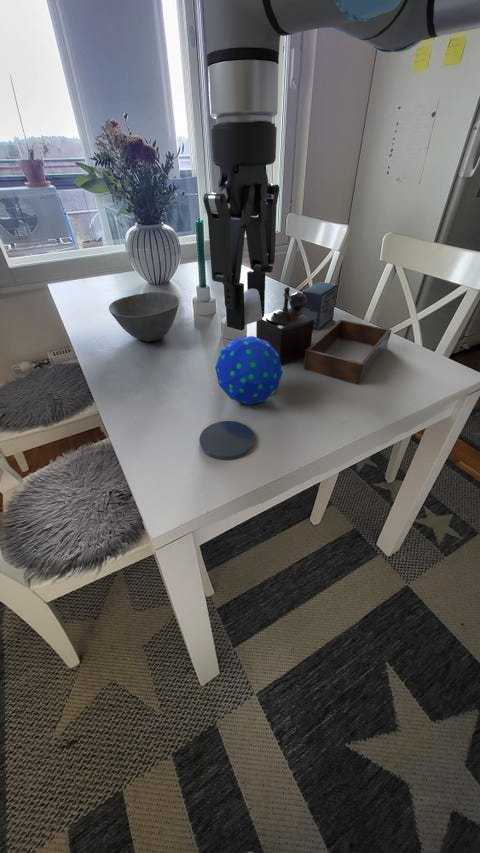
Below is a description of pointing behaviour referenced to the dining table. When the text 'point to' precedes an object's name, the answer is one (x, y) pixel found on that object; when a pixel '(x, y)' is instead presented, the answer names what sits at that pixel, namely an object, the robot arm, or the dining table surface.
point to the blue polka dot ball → (248, 370)
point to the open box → (341, 366)
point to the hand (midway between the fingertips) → (246, 321)
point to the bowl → (146, 314)
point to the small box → (320, 303)
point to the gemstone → (252, 306)
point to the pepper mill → (287, 328)
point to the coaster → (226, 440)
